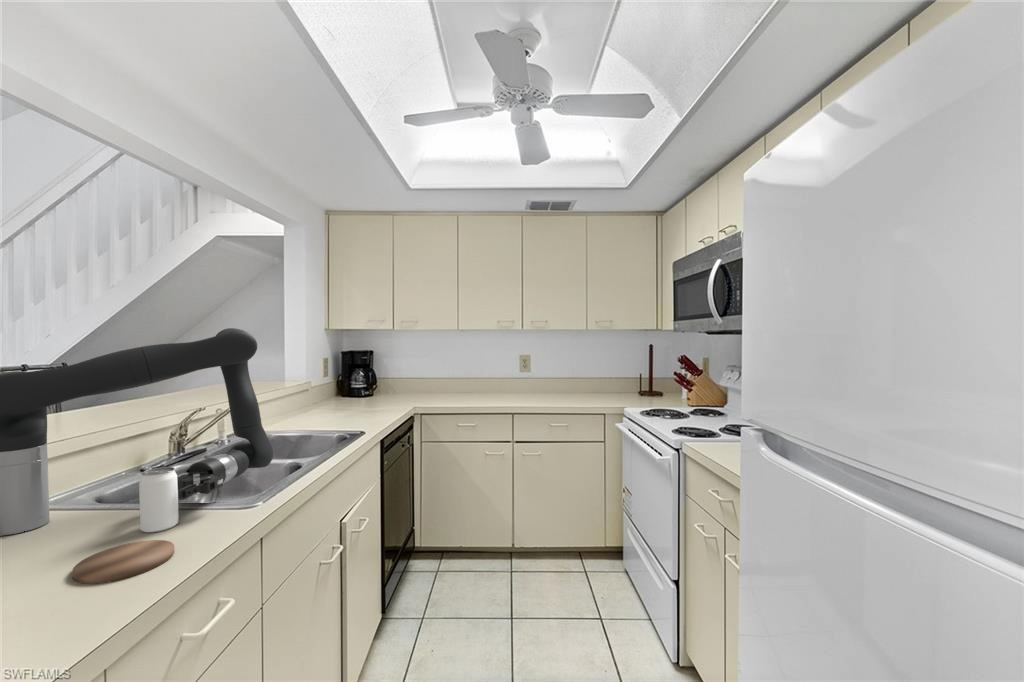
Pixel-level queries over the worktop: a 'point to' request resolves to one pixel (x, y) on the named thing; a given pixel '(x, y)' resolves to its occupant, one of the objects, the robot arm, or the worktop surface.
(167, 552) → the disc
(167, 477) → the can
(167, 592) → the worktop surface
